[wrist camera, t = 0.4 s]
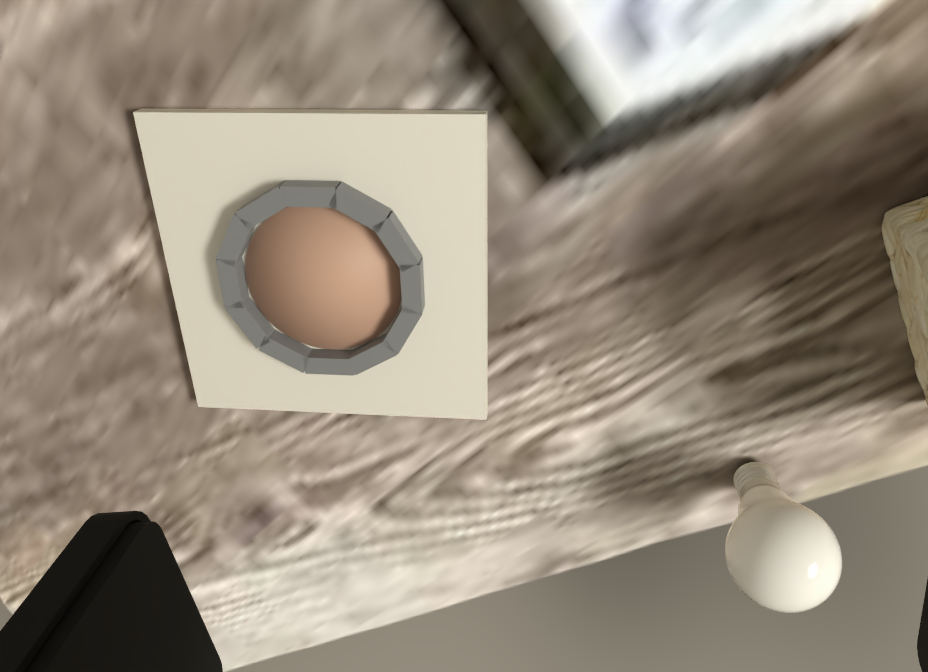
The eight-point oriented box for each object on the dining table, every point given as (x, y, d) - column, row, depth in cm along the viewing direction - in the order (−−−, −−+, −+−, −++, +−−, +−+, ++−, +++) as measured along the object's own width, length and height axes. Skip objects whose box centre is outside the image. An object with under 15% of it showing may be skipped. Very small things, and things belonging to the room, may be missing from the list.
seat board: (141, 108, 44) (122, 117, 42) (487, 110, 42) (484, 119, 40) (204, 398, 53) (190, 416, 51) (487, 411, 51) (485, 430, 49)
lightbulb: (770, 417, 49) (823, 537, 40) (818, 480, 51) (879, 608, 42) (685, 462, 52) (715, 585, 42) (734, 520, 54) (774, 651, 44)
